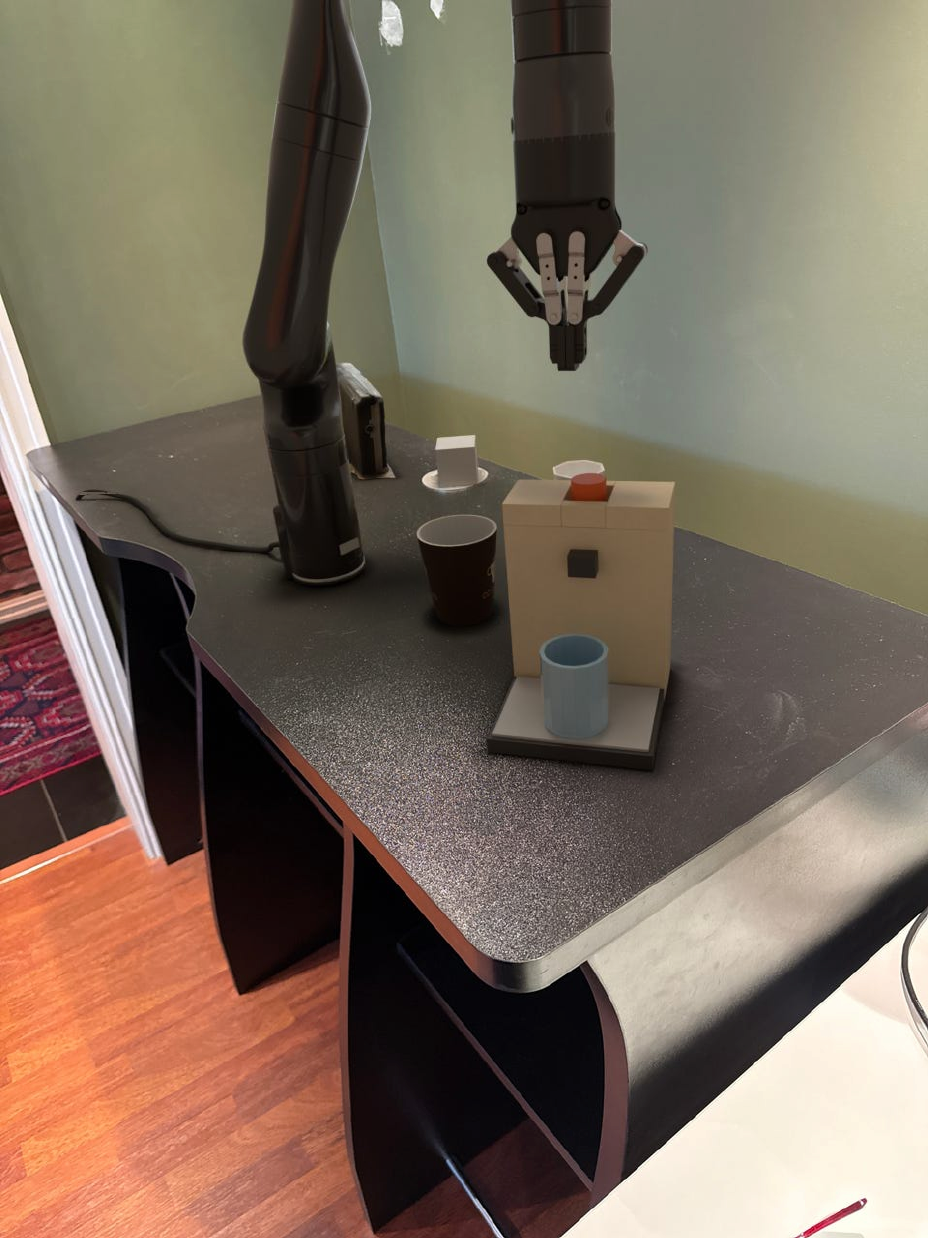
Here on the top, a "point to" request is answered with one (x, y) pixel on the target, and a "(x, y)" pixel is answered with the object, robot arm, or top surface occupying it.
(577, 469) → the cup
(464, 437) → the white cube
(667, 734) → the top surface
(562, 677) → the creamer cup
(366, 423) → the radio
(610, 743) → the coffee maker
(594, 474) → the brew button
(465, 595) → the coffee mug
